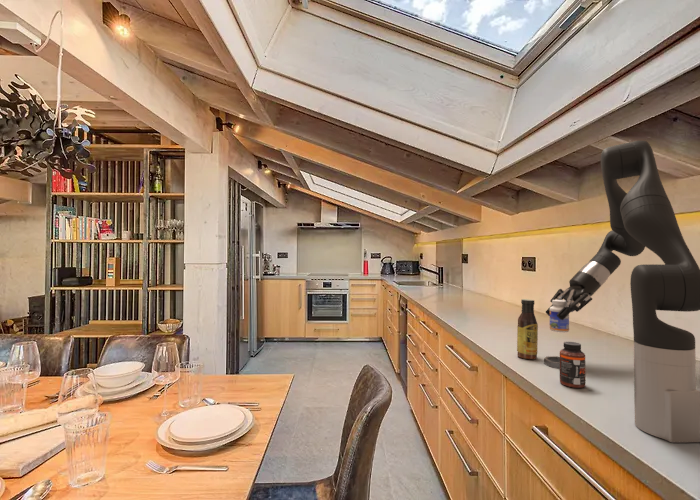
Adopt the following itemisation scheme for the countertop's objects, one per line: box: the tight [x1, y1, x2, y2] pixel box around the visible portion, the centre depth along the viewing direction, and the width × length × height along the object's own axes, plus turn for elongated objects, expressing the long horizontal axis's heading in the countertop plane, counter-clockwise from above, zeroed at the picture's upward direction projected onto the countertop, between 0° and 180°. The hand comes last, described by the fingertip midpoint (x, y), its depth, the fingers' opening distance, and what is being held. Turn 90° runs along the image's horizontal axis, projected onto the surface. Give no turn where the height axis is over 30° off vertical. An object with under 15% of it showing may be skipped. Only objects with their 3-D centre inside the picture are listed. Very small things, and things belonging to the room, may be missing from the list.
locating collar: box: [543, 355, 560, 370], centre depth 112 cm, size 8×8×2 cm
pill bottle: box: [549, 299, 570, 333], centre depth 112 cm, size 5×5×10 cm
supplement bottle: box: [559, 341, 587, 389], centre depth 95 cm, size 6×6×11 cm
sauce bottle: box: [516, 298, 539, 360], centre depth 120 cm, size 6×6×20 cm
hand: (553, 316), depth 112 cm, fingers closed on pill bottle, 5 cm apart
